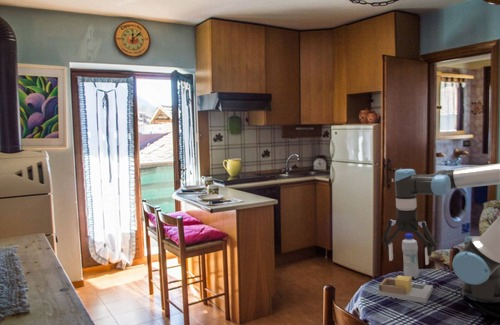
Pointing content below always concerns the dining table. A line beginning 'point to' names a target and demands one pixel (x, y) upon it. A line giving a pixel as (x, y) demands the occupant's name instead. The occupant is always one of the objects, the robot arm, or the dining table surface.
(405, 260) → the bottle
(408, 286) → the block
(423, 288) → the cubby deck
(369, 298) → the dining table surface
